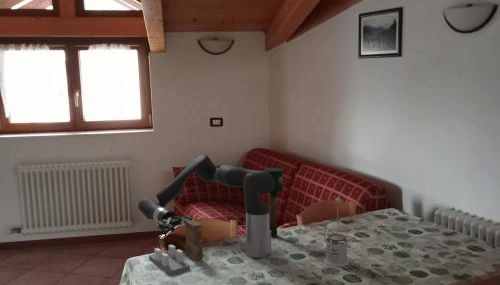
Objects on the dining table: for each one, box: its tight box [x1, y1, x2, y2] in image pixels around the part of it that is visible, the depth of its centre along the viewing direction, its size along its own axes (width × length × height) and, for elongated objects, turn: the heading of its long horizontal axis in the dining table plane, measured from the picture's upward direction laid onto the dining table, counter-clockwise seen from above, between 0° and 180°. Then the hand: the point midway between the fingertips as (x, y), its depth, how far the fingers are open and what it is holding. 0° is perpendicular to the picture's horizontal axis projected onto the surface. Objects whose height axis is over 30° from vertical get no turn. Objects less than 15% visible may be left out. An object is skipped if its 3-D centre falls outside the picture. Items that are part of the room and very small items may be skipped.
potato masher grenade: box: [264, 167, 284, 238], centre depth 200 cm, size 8×9×30 cm
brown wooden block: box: [185, 219, 203, 262], centre depth 177 cm, size 3×7×14 cm, turn 36°
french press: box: [323, 197, 350, 267], centre depth 173 cm, size 10×12×25 cm
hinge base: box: [148, 244, 191, 276], centre depth 172 cm, size 8×18×6 cm, turn 36°
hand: (183, 227), depth 183 cm, fingers open, 8 cm apart
